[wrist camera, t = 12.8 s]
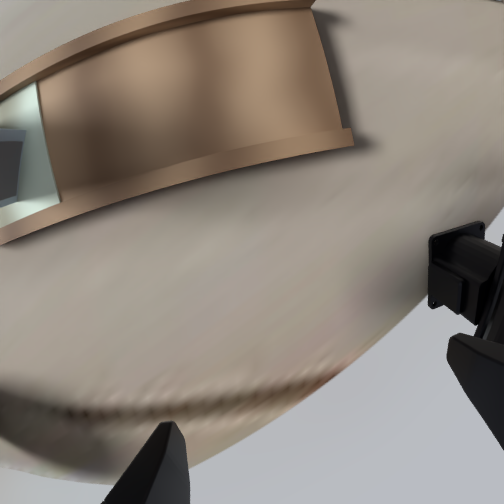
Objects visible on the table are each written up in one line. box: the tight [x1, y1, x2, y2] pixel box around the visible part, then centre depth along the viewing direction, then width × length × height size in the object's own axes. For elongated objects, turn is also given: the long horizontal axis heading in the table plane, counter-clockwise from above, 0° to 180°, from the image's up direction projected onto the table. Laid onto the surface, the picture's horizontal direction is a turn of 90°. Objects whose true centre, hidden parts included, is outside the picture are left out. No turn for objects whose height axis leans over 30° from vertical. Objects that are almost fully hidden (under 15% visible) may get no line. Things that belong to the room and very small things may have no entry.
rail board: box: [0, 0, 354, 245], centre depth 15 cm, size 26×10×3 cm, turn 103°
